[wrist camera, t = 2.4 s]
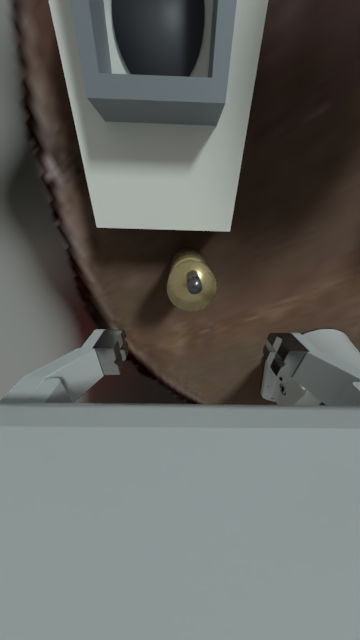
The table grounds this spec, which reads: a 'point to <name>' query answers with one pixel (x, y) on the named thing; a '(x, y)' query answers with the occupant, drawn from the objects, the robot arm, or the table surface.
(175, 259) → the spout can
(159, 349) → the table surface
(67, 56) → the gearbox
